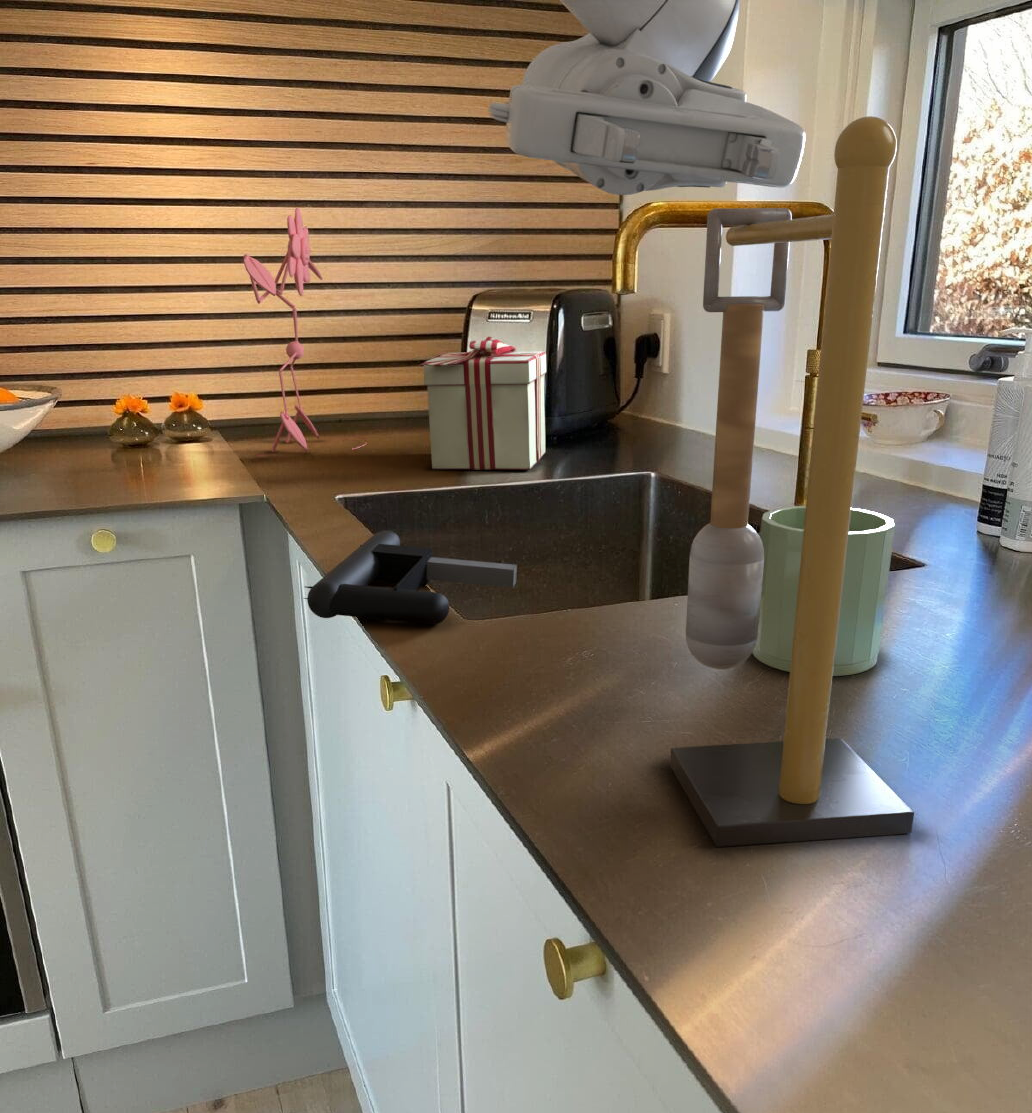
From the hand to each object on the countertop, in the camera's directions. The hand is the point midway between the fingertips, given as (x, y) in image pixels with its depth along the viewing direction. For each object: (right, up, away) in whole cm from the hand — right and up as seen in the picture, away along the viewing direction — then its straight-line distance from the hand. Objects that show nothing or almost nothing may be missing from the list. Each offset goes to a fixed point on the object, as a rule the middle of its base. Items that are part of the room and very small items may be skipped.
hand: (698, 156), depth 64 cm
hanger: (+2, -37, -4) cm, 37 cm away
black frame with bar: (-20, -24, +28) cm, 42 cm away
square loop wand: (+2, -31, +2) cm, 31 cm away
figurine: (-43, +6, +104) cm, 112 cm away
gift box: (-16, 0, +89) cm, 90 cm away
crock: (+10, -30, +12) cm, 34 cm away
